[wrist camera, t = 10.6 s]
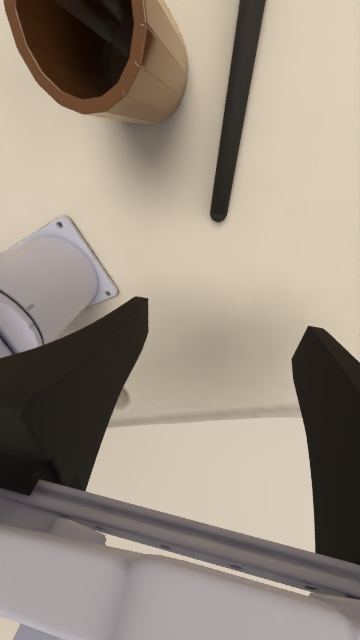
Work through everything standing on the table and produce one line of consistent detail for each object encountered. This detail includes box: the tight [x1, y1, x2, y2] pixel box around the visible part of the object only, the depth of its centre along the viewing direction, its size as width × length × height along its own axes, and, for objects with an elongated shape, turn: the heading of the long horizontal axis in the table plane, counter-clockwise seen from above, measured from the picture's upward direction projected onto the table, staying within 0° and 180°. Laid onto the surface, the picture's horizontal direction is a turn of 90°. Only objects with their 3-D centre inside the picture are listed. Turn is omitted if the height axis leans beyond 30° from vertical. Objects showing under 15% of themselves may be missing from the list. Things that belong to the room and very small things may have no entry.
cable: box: [210, 0, 266, 222], centre depth 12 cm, size 19×2×1 cm, turn 175°
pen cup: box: [4, 0, 188, 124], centre depth 11 cm, size 5×5×8 cm
